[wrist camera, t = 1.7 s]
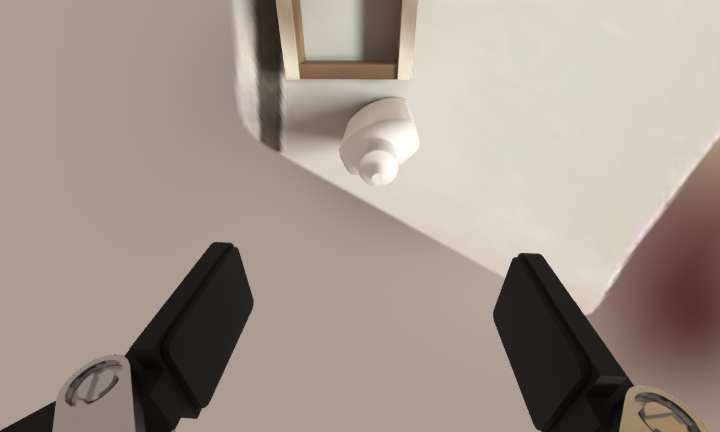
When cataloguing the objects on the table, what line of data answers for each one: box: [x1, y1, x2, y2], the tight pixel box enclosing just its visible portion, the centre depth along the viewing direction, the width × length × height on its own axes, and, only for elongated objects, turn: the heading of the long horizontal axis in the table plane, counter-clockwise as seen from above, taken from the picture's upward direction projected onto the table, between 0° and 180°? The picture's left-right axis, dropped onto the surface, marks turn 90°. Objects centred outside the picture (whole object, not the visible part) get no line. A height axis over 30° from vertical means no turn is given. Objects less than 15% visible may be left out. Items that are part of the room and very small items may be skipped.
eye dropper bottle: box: [339, 98, 419, 186], centre depth 21 cm, size 4×6×12 cm
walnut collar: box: [276, 0, 418, 80], centre depth 21 cm, size 10×10×3 cm
